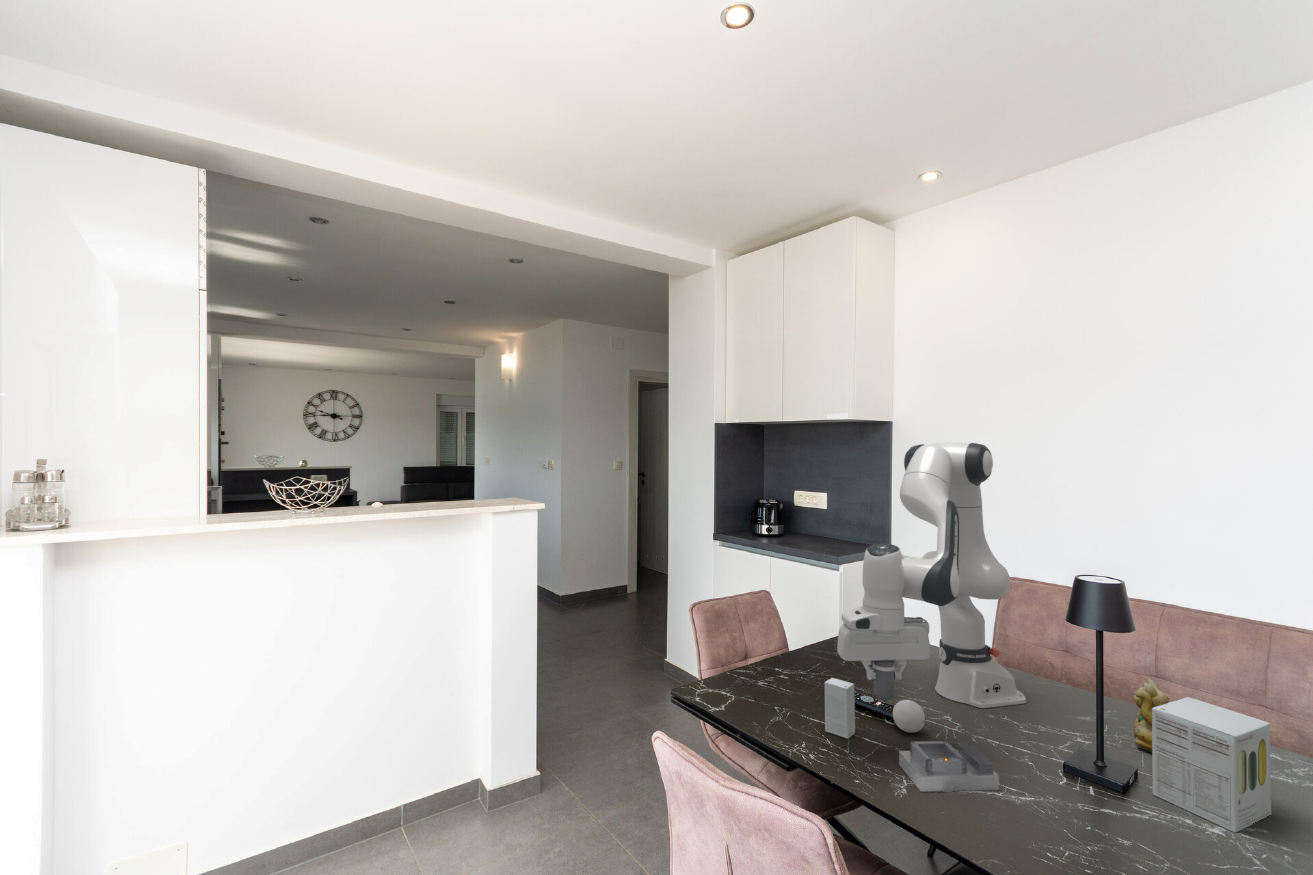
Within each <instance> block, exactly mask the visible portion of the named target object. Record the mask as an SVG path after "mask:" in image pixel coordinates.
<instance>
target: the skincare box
mask: <svg viewBox="0 0 1313 875" xmlns="http://www.w3.org/2000/svg"><path fill="white" fill-rule="evenodd" d="M855 698H856V697H855V683H852V682H849V681H847V680H841V679H839V678H834V677H831V678H830V679H827V680H826V681H824V731H825V732H826V733H830V734H833V735H835V736H839V737H841V738H845V739H849V738H851V737H852V736H854V735H855V733H856V711H855V710H856V706H855V705H856V704H855V701H856V700H855Z"/></svg>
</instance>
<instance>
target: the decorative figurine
mask: <svg viewBox="0 0 1313 875" xmlns="http://www.w3.org/2000/svg"><path fill="white" fill-rule="evenodd" d="M1143 685H1144V686H1143V687H1142V686H1141V687H1139V688H1138V689H1137V690H1135V691H1134V695H1133V701H1134V703H1135V705H1136V706H1137V707H1138V708H1139V709H1140V712H1137V713H1136V715H1135V716H1136V719H1135V720H1134V721H1135V722H1134V726H1133V727H1134V729H1133V734H1134V736H1133V737H1134V744H1136V745H1137V748H1138V749H1142V750H1144V751H1146V752H1147V751H1148V752H1150V753H1152V708H1154V707H1157V706H1160V705H1164V704H1167V703H1169V702H1171V701H1170V698H1169V696H1168V695H1167V694H1166V693H1165V692H1163V691H1162V690H1161V688H1160V686H1159V685H1158V683H1157V682H1155V681H1154V680H1153V679H1151V678H1147V682H1143Z"/></svg>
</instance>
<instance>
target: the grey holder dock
mask: <svg viewBox="0 0 1313 875" xmlns="http://www.w3.org/2000/svg"><path fill="white" fill-rule="evenodd" d="M909 748H910V749H909V750H898V765H899V767H900V768H901V769H902V770H903V771H904V773H905V774H906V775H907V776H908V778H909V779H910V780H911V782H912V783H913V784H914V785H915V787H916V788H917V789H918V790H919V791H920V792H923V793H925V792H969V791H970V792H971V791H972V792H973V791H975V792H976V791H978V792H979V791H980V792H981V791H999V790H1000V775H999V774H998V773H997V772H996V771H995V770H994V763H993V762H992V761H991V760H990V759H989V758H988V757H987V756H986V755H984V754H983V753H982V752H981V751H980V750H979V749H978V748H977V747H976V746H974V745H973V744H972V743H960V744H959V743H958V744H957V749H955V748H954V747H953V746H952V745H951V744H950V743H949V742H948V741H946V740H941V741H940V740H939V741H937V740H936V741H935V740H932V741H931V740H930V741H929V740H928V741H909Z"/></svg>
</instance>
